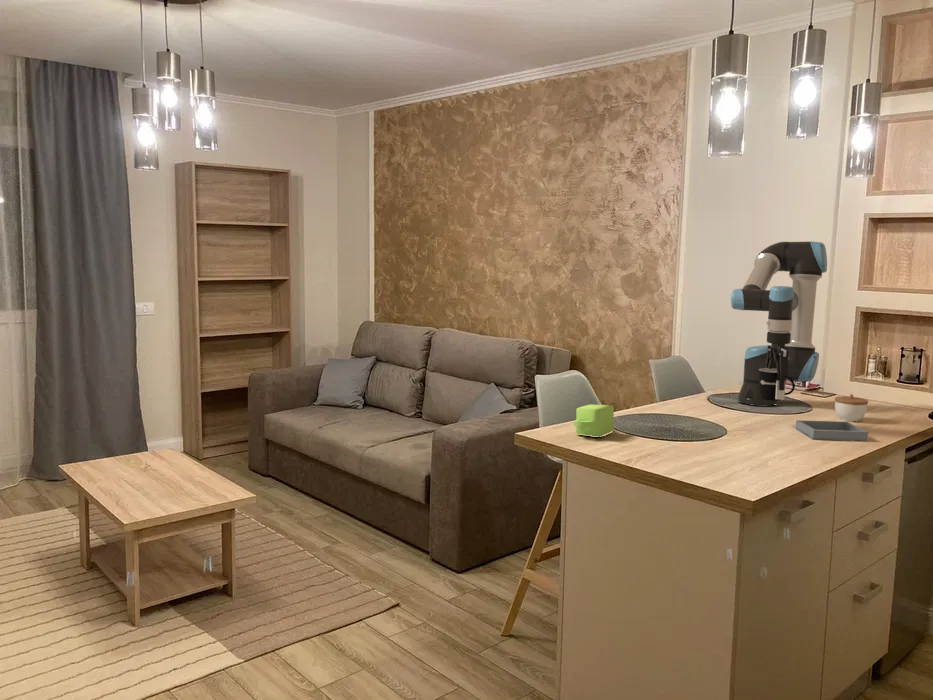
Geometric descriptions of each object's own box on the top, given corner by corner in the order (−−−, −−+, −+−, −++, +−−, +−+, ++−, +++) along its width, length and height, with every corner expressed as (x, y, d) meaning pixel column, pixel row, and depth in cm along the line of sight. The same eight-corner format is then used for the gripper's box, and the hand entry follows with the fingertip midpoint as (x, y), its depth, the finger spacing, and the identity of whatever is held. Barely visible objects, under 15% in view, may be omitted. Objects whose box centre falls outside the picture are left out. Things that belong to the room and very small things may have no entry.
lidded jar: (863, 418, 275) (865, 393, 274) (868, 424, 265) (871, 398, 264) (831, 415, 278) (833, 391, 277) (835, 421, 268) (837, 396, 267)
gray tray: (795, 428, 256) (796, 420, 255) (846, 430, 255) (847, 421, 254) (812, 439, 241) (813, 430, 240) (867, 441, 240) (868, 432, 239)
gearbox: (592, 428, 254) (592, 401, 254) (619, 431, 249) (619, 403, 248) (567, 437, 240) (567, 408, 239) (595, 440, 234) (595, 410, 233)
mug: (753, 399, 258) (755, 370, 257) (762, 395, 265) (764, 367, 264) (789, 404, 251) (791, 374, 249) (797, 399, 258) (799, 370, 256)
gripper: (757, 328, 266) (754, 390, 270) (778, 335, 245) (774, 402, 248) (779, 328, 266) (775, 390, 269) (802, 335, 245) (797, 403, 248)
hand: (774, 396), depth 259 cm, fingers closed on mug, 9 cm apart
